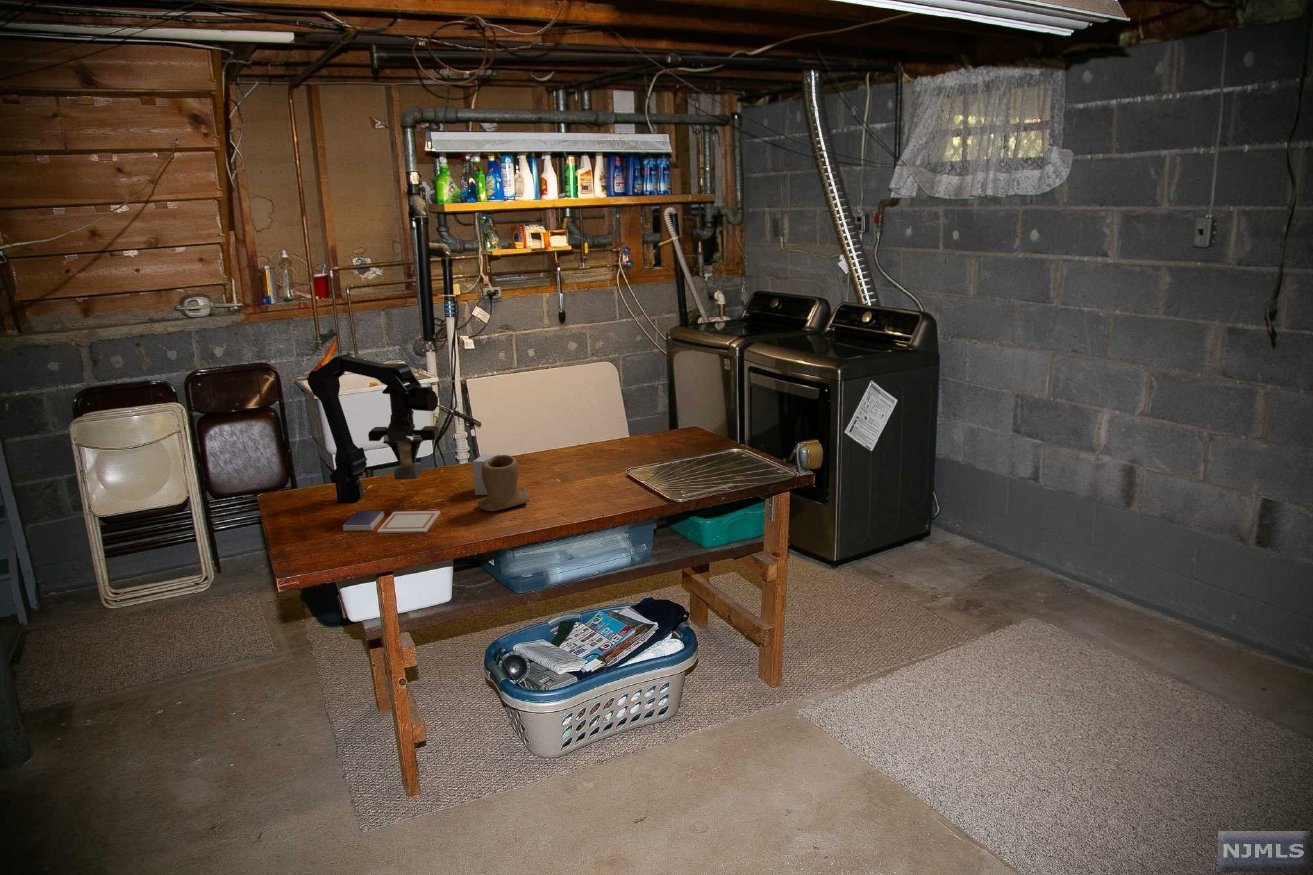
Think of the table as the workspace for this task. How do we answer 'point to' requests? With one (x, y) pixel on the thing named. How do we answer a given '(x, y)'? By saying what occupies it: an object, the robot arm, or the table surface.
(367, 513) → the ink pad
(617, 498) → the table surface
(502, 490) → the stone cup
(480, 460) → the small box
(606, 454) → the table surface
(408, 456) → the stamp
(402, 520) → the board
